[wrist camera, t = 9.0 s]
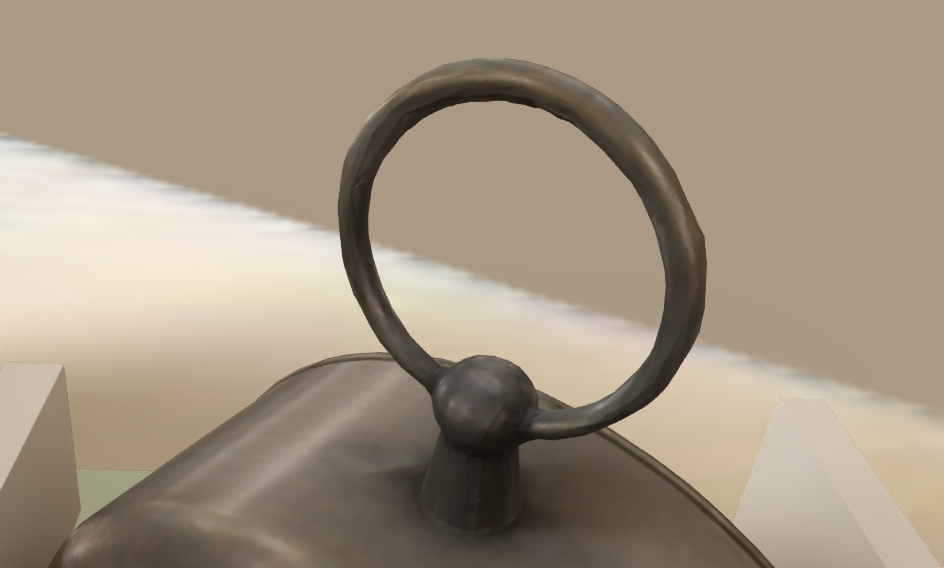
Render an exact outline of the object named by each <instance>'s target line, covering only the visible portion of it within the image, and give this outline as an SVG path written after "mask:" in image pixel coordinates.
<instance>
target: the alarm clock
mask: <svg viewBox="0 0 944 568" xmlns="http://www.w3.org/2000/svg"><path fill="white" fill-rule="evenodd" d="M489 101H508V102H510V103H515V104H522V105H527V106H530V107H533V108H541V109H543V110H545V111H547V112H550V113H551V114H553V115H554V116H556V117H557V118H560V119H562V120H565V121H568V122H570V123H571V124H573V125H574V126H575V127H577V128H578V129H580V130H581V131H582V132H583V133H584V134H585V135H587V136H588V137H589V138H590V139H591V140H592V141H593V142H594V143H595V144H597V145H598V146H599V147H600V148H601V149H602V150H603V151H604V152H605V153H606V154H607V155H608V157H609V158H610V159H611V160H612V161H613V162H614V163H615V165H616V166H617V167H618V168H619V169H620V170H621V171H622V172H623V174H624V175H625V176H626V177H627V178H628V179H629V180H630V181H631V183H632V184H633V186H634V188H635V189H636V191H637V193H638V195H639V196H640V198H641V199H642V201H643V204H644V206H645V208H646V210H647V213H648V215H649V217H650V220H651V222H652V224H653V227H654V229H655V233H656V236H657V240H658V244H659V248H660V252H661V256H662V261H663V265H664V269H665V282H666V291H665V302H664V311H663V316H662V321H661V325H660V328H659V331H658V335H657V338H656V341H655V344H654V347H653V349H652V351H651V353H650V355H649V356H648V358H647V359H646V360H645V362H644V363H643V364H642V366H641V367H640V368H639V369H638V370H637V371H636V372H635V373H634V374H633V375H632V376H631V377H630V378H629V379H628V380H627V381H626V382H625V383H624V384H623V385H621V386H620V387H619V388H618V389H617V390H616V391H615V392H614V393H612V394H610V395H608V396H607V397H605V398H603V399H601V400H599V401H597V402H594V403H591V404H588V405H585V406H581V407H577V408H573V407H571V406H569V405H567V404H565V403H563V402H561V401H559V400H557V399H555V398H553V397H551V396H549V395H547V394H545V393H543V392H541V391H539V390H536V389H535V388H534V386H533V383H532V381H531V380H530V379H529V377H528V376H527V375H526V374H525V372H524V371H523V370H522V369H521V368H520V367H518V366H517V365H515V364H513V363H512V362H510V361H508V360H505V359H502V358H499V357H496V356H486V355H476V356H472V357H469V358H465V359H463V360H461V361H460V362H458V363H457V362H453V361H449V360H445V359H440V358H433V357H431V356H430V355H429V354H427V353H426V352H425V351H424V350H423V349H422V348H421V347H420V346H419V345H418V344H417V343H416V342H415V340H414V339H413V338H412V337H411V336H410V335H409V333H408V332H407V330H406V329H405V327H404V326H403V324H402V322H401V321H400V319H399V318H398V316H397V315H396V313H395V312H394V310H393V309H392V307H391V304H390V302H389V300H388V298H387V296H386V294H385V291H384V289H383V287H382V284H381V281H380V278H379V275H378V272H377V269H376V266H375V262H374V259H373V255H372V250H371V245H370V240H369V234H368V213H369V204H370V197H371V190H372V185H373V181H374V178H375V176H376V174H377V171H378V169H379V167H380V165H381V163H382V161H383V159H384V158H385V156H386V155H387V154H388V153H389V152H390V151H391V149H392V148H393V147H394V145H395V144H396V143H397V141H398V140H399V139H400V137H401V136H402V135H403V134H404V133H405V132H406V131H407V130H409V129H411V128H412V127H413V126H414V125H416V124H417V123H418V122H419V121H420V120H422V119H423V118H425V117H427V116H428V115H430V114H432V113H434V112H436V111H438V110H441V109H443V108H445V107H448V106H454V105H456V104H461V103H467V102H489ZM338 217H339V230H340V240H341V249H342V258H343V262H344V267H345V270H346V273H347V276H348V279H349V282H350V285H351V288H352V291H353V294H354V296H355V297H356V299H357V301H358V303H359V305H360V307H361V309H362V311H363V313H364V315H365V317H366V319H367V321H368V323H369V325H370V327H371V328H372V330H373V331H374V333H375V335H376V336H377V338H378V340H379V341H380V343H381V344H382V345H383V346H384V348H385V349H386V350H387V351H388V352H389V353H381V352H378V353H359V354H349V355H342V356H337V357H333V358H328V359H325V360H323V361H320V362H317V363H314V364H311V365H309V366H306V367H303V368H300V369H298V370H296V371H295V372H293V373H291V374H289V375H287V376H286V377H284V378H282V379H280V380H279V381H277V382H276V383H275V384H274V385H273V386H272V387H271V388H269V389H268V390H267V391H266V392H265V393H264V394H263V395H261V396H260V397H259V398H258V399H257V400H256V401H255V402H254V403H252V404H251V405H249V406H248V407H246V408H245V409H243V410H242V411H241V412H239V413H238V414H236V415H235V416H233V417H232V418H230V419H229V420H227V421H226V422H225V423H223V424H222V425H220V426H219V427H217V428H216V429H214V430H213V431H212V432H210V433H209V434H207V435H206V436H204V437H203V438H201V439H200V440H198V441H197V442H196V443H194V444H193V445H191V446H190V447H188V448H187V449H185V450H184V451H182V452H181V453H180V454H178V455H177V456H175V457H174V458H172V459H171V460H169V461H168V462H167V463H165V464H164V465H162V466H161V467H160V468H158V469H157V470H155V471H154V472H152V473H151V474H150V475H148V476H147V477H145V478H144V479H143V480H141V481H140V482H138V483H137V484H135V485H134V486H133V487H131V488H130V489H128V490H127V491H126V492H124V493H123V494H121V495H120V496H118V497H117V498H116V499H114V500H113V501H111V502H110V503H108V504H107V505H106V506H104V507H103V508H101V509H100V510H99V511H97V512H96V513H94V514H93V515H92V516H90V517H89V518H87V519H86V520H84V521H83V522H82V523H81V524H80V525H79V526H78V527H77V528H76V529H75V530H74V531H73V532H72V533H71V534H70V535H69V536H68V538H67V539H66V540H65V541H64V542H63V544H62V545H61V546H60V548H59V549H58V551H57V553H56V554H55V556H54V558H53V560H52V561H51V563H50V565H49V567H48V568H775V567H774V566H773V565H772V564H771V563H770V562H769V560H768V559H767V558H766V557H765V556H764V555H763V554H762V552H761V551H760V550H759V549H758V548H757V547H756V546H755V545H754V544H753V543H752V542H751V541H750V540H749V539H748V538H747V537H746V536H745V535H744V534H743V533H742V532H741V531H740V530H739V529H738V528H737V527H736V526H735V525H734V524H733V523H732V522H730V521H729V520H728V519H727V518H726V517H725V516H724V515H723V514H722V513H721V512H720V511H719V510H718V509H717V508H716V507H715V506H713V505H712V504H711V503H710V502H709V501H708V500H707V499H705V498H704V497H703V496H702V495H701V494H700V493H699V492H697V491H696V490H695V489H694V488H693V487H692V486H691V485H689V484H688V483H687V482H686V481H684V480H683V479H682V478H680V477H679V476H678V475H676V474H675V473H674V472H672V471H671V470H670V469H668V468H667V467H666V466H664V465H663V464H662V463H660V462H659V461H658V460H656V459H655V458H654V457H652V456H651V455H649V454H648V453H646V452H645V451H643V450H642V449H640V448H639V447H637V446H636V445H634V444H633V443H631V442H630V441H628V440H627V439H625V438H624V437H622V436H621V435H619V434H618V433H616V432H615V431H613V430H612V429H610V428H608V427H607V426H609V425H612V424H614V423H616V422H618V421H620V420H622V419H624V418H626V417H628V416H629V415H631V414H633V413H635V412H636V411H638V410H640V409H642V408H644V407H645V406H646V405H648V404H649V403H650V402H652V401H653V400H654V399H655V398H656V397H658V396H659V395H660V394H661V393H662V392H663V391H664V389H665V388H666V387H667V386H668V384H669V383H670V381H671V380H672V378H673V377H674V375H675V374H676V372H677V370H678V369H679V367H680V365H681V364H682V362H683V361H684V359H685V358H686V356H687V354H688V353H689V351H690V350H691V348H692V346H693V344H694V342H695V340H696V338H697V336H698V334H699V332H700V327H701V323H702V318H703V313H704V309H705V291H706V270H707V260H706V249H705V238H704V235H703V233H702V231H701V229H700V226H699V224H698V222H697V220H696V218H695V216H694V214H693V212H692V209H691V207H690V205H689V203H688V201H687V198H686V196H685V194H684V192H683V190H682V187H681V185H680V182H679V180H678V178H677V176H676V173H675V171H674V170H673V168H672V167H671V165H670V164H669V163H668V161H667V160H666V158H665V157H664V155H663V154H662V152H661V151H660V150H659V148H658V147H657V145H656V144H655V142H654V141H653V140H652V138H651V137H649V135H648V134H647V133H646V132H645V130H644V129H643V128H642V127H641V126H640V125H639V124H638V123H637V122H636V121H635V120H634V119H633V118H632V117H631V116H629V114H628V113H627V112H625V111H624V110H623V109H622V108H621V107H620V106H619V105H618V104H616V103H615V102H613V101H612V100H611V99H609V98H608V97H606V96H605V95H604V94H602V93H601V92H599V91H598V90H596V89H594V88H593V87H591V86H589V85H587V84H586V83H584V82H582V81H580V80H578V79H577V78H575V77H572V76H570V75H567V74H565V73H562V72H559V71H557V70H554V69H551V68H549V67H546V66H542V65H538V64H535V63H531V62H527V61H521V60H514V59H502V58H481V59H480V58H479V59H472V60H466V61H460V62H455V63H449V64H444V65H442V66H440V67H437V68H435V69H433V70H431V71H429V72H427V73H425V74H423V75H421V76H419V77H418V78H416V79H414V80H412V81H411V82H409V83H408V84H406V85H405V86H403V87H402V88H400V89H398V90H397V91H396V92H394V93H393V94H392V95H391V96H390V97H389V98H388V99H387V100H386V101H385V102H384V103H383V104H381V105H380V106H379V107H378V108H377V109H376V110H375V111H373V113H372V114H371V115H370V116H369V117H368V119H367V120H366V121H365V122H364V123H363V124H362V125H361V127H360V129H359V131H358V133H357V136H356V138H355V140H354V142H353V143H352V145H351V146H350V148H349V149H348V152H347V155H346V158H345V161H344V165H343V170H342V175H341V183H340V192H339V199H338Z"/></svg>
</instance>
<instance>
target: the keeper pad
mask: <svg viewBox="0 0 944 568" xmlns="http://www.w3.org/2000/svg"><path fill="white" fill-rule="evenodd" d="M76 472H77V480H78V488H79V497H80V505H81V512H80V514H79V517H78V519H77V522H76V525H75V527H74V530H75V529H76V528H77V527H78V526H79V525H80V524H81V523H82V522H83V521H84V520H86V519H87V518H89V517H90V516H92V515H93V514H94V513H96V512H97V511H99V510H100V509H101V508H103V507H104V506H106V505H107V504H108V503H110V502H111V501H113V500H114V499H116V498H117V497H118V496H120V495H121V494H123V493H124V492H126V491H127V490H128V489H130V488H131V487H133V486H134V485H135V484H137V483H138V482H140V481H141V480H143V479H144V478H145V477H147V476H148V475H150V474H151V473H152V472H154V471H131V470H98V469H76ZM74 530H73V531H74Z"/></svg>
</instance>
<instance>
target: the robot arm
mask: <svg viewBox="0 0 944 568" xmlns="http://www.w3.org/2000/svg"><path fill="white" fill-rule="evenodd" d="M80 512H81V505H80V497H79V488H78V480H77V472H76V463H75V455H74V446H73V438H72V430H71V421H70V413H69V404H68V396H67V387H66V379H65V371H64V364H42V363H20V362H5V364H4V365H3V367H2V369H1V370H0V568H48V567H49V565H50V563H51V561H52V560H53V558H54V556H55V554H56V553H57V551H58V549H59V548H60V546H61V545H62V544H63V542H64V541H65V540H66V539H67V538H68V536H69V535H70V534H71V533H72V532H73V530H74V527H75V525H76V522H77V519H78V517H79V514H80ZM733 524H734V525H735V526H736V527H737V528H738V529H739V530H740V531H741V532H742V533H743V534H744V535H745V536H746V537H747V538H748V539H749V540H750V541H751V542H752V543H753V544H754V545H755V546H756V547H757V548H758V549H759V550H760V551H761V552H762V554H763V555H764V556H765V557H766V558H767V559H768V560H769V562H770V563H771V564H772V565H773V566H774V567H775V568H942V567H941V566H940V564H939V563H938V561H937V560H936V558H935V557H934V556H933V554H932V553H931V551H930V550H929V548H928V547H927V546H926V544H925V543H924V541H923V540H922V538H921V537H920V536H919V534H918V533H917V531H916V530H915V528H914V527H913V526H912V524H911V523H910V521H909V520H908V518H907V517H906V515H905V514H904V513H903V511H902V510H901V508H900V507H899V505H898V504H897V503H896V501H895V500H894V498H893V497H892V495H891V494H890V493H889V491H888V490H887V488H886V487H885V485H884V484H883V483H882V481H881V480H880V478H879V477H878V475H877V474H876V473H875V471H874V470H873V468H872V467H871V465H870V464H869V462H868V461H867V460H866V458H865V457H864V455H863V454H862V452H861V451H860V450H859V448H858V447H857V445H856V444H855V442H854V441H853V440H852V438H851V437H850V435H849V434H848V432H847V431H846V430H845V428H844V427H843V425H842V424H841V422H840V421H839V420H838V418H837V417H836V415H835V414H834V412H833V411H832V410H831V408H830V407H829V405H828V404H827V402H826V401H825V399H804V398H782V397H779V399H778V401H777V404H776V407H775V410H774V412H773V415H772V418H771V421H770V423H769V426H768V429H767V431H766V434H765V437H764V440H763V442H762V445H761V448H760V450H759V453H758V456H757V459H756V461H755V464H754V467H753V470H752V472H751V475H750V478H749V480H748V483H747V486H746V489H745V491H744V494H743V497H742V500H741V502H740V505H739V508H738V510H737V513H736V516H735V519H734V521H733Z"/></svg>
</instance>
